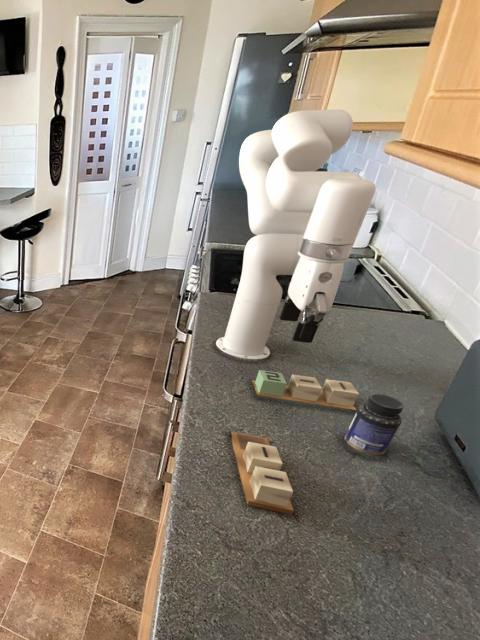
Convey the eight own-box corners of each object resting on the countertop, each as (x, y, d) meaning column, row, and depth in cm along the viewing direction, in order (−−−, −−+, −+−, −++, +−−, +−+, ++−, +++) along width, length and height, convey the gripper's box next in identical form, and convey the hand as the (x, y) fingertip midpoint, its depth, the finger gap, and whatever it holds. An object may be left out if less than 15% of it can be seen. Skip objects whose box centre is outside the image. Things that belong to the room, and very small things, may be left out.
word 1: (229, 435, 87) (235, 417, 85) (266, 441, 85) (273, 423, 83) (247, 504, 72) (255, 485, 70) (292, 514, 70) (301, 494, 68)
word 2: (250, 383, 103) (256, 367, 101) (343, 397, 97) (351, 379, 95) (256, 398, 98) (262, 381, 96) (355, 413, 92) (364, 396, 90)
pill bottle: (391, 460, 80) (418, 413, 75) (353, 456, 81) (377, 409, 76) (371, 438, 85) (395, 392, 80) (335, 435, 86) (357, 389, 81)
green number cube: (254, 382, 102) (259, 369, 100) (277, 385, 100) (281, 372, 98) (258, 392, 98) (263, 379, 96) (282, 396, 96) (287, 382, 95)
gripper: (369, 265, 72) (331, 353, 80) (332, 238, 86) (303, 315, 94) (315, 262, 74) (284, 347, 83) (288, 235, 89) (263, 311, 97)
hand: (294, 330), depth 89 cm, fingers open, 9 cm apart
